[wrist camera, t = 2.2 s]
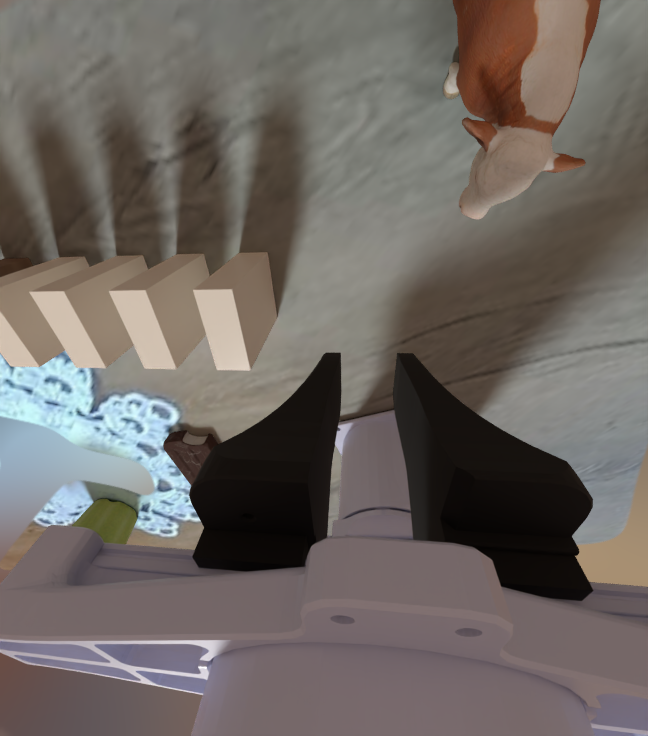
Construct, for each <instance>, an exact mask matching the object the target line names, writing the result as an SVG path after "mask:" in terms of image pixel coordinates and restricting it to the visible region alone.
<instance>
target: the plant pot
mask: <svg viewBox="0 0 648 736" xmlns="http://www.w3.org/2000/svg"><path fill="white" fill-rule="evenodd" d="M136 521H137V517H136V512H135V511H134V510H133V509H132V508H131V507H129V506H127V505H126V504H124V503H122V502H110V501H109V500H108V499H99V500H96V501H95V502H94V503H93V504H92V505H91V506H90V507H89V508H88V509H87V510H86V511H85V512H84V513H83V514H82V515H81V517H80V518H79V519H78V520H77V521H76V522H75V523H74V524H73V525H72V526H74V527H84V528H89V529H91V530H93V531H95V532H96V533H98V534H99V535H100V536H101V538H102V539H103V542H104V543H114V544H126V543H127V541H128V539H129V536H130V534H131V532H132V530H133V528H134V525H135V523H136Z"/></svg>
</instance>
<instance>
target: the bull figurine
mask: <svg viewBox="0 0 648 736" xmlns="http://www.w3.org/2000/svg"><path fill="white" fill-rule="evenodd" d="M600 1H601V0H453V4H454V8H455V11H456V14H457V26H458V44H459V63H457V62H453V63H452V64H451V65H450V67H449V75H448V76H447V78H446V80H445V82H444V86H443V93H444V95H445V97H446V98H448V99H454V98H456V97H457V96H458V95H459V93H460V95H461V97H462V100H463V103H464V105H465V107H466V108H467V110H468V111H469V112H470V113H471V114H473V115H475V116H477V117H480V118H484V120H485V121H478V120H471V119H469V118H468V117H467V118H464V119H463V120H462V125H463V126H464V128H465V129H466V130H467V131H468V132H469V133H470V134H471V135H472V136H473V137H475V138H476V139H477V141H478V143H479V144H480V145H481V146H482V148H481V149H480V150H479V151H478V153H477V154H476V156H475V158H474V160H473V163H472V166H471V172H470V177H469V185H468V187H467V188H465V190H464V191H463V193H462V195H461V197H460V200H459V207H460V208H461V212H462V213H463V214H464V215H466V216H468V217H470V218H473V219H481V218H482V217H484V216H485V215H486V214H487V213H488V211H489V209H490V207H491V206H493V205H496V204H499V203H502V202H504V201H507V200H510V199H512V198H514V197H516V196H517V195H519V194H520V193H521V192H523V191H525V190H526V189H527V188H528V187H529V186H530V185H531V183H532V182H533V180H534V178H535V177H536V176H537V175H538V174H539V173H540V172H541V171H547V172H553V173H556V172H563V171H567V170H571V169H575V168H578V167H581V166H584V165H585V161H584V160H583V159H578V158H574V157H571V156H569V155H566V154H559V153H555V152H553V150H552V143H551V141H552V137H553V135H554V133H555V131H556V130H557V128H558V126H559V125H560V123H561V122H562V120H563V118H564V116H565V114H566V112H567V111H568V109H569V107H570V104H571V102H572V99H573V97H574V94H575V90H576V86H577V82H578V77H579V70H580V67H581V65H582V62H583V60H584V57H585V55H586V51H587V48H588V45H589V43H590V41H591V38H592V36H593V33H594V30H595V27H596V23H597V19H598V14H599V8H600Z"/></svg>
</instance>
